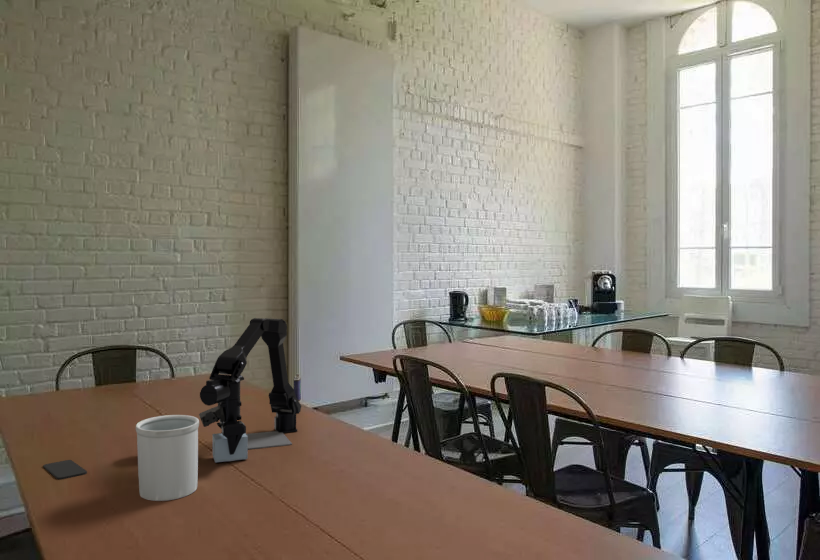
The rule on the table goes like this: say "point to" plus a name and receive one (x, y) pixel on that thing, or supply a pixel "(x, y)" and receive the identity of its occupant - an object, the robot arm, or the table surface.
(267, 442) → the mat
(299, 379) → the flask
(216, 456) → the grey rectangular block
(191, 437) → the utensil holder
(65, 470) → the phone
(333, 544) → the table surface
